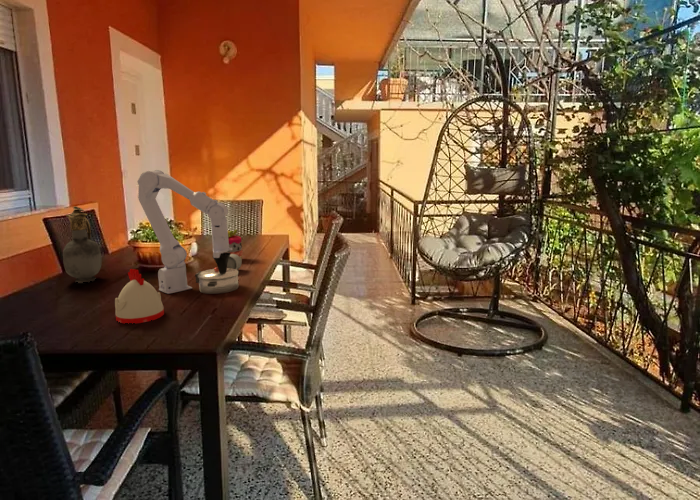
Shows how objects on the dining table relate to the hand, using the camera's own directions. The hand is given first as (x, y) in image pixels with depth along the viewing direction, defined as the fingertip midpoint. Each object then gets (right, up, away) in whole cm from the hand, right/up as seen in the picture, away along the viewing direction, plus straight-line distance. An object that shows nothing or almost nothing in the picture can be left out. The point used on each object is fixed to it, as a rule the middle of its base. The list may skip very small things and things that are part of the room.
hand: (222, 272), depth 179 cm
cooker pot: (-2, -6, +1) cm, 6 cm away
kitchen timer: (-18, -12, -28) cm, 36 cm away
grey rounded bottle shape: (-60, -4, +18) cm, 62 cm away
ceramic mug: (-5, -1, +26) cm, 27 cm away
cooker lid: (-2, -1, 0) cm, 2 cm away
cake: (-8, +3, +48) cm, 48 cm away
